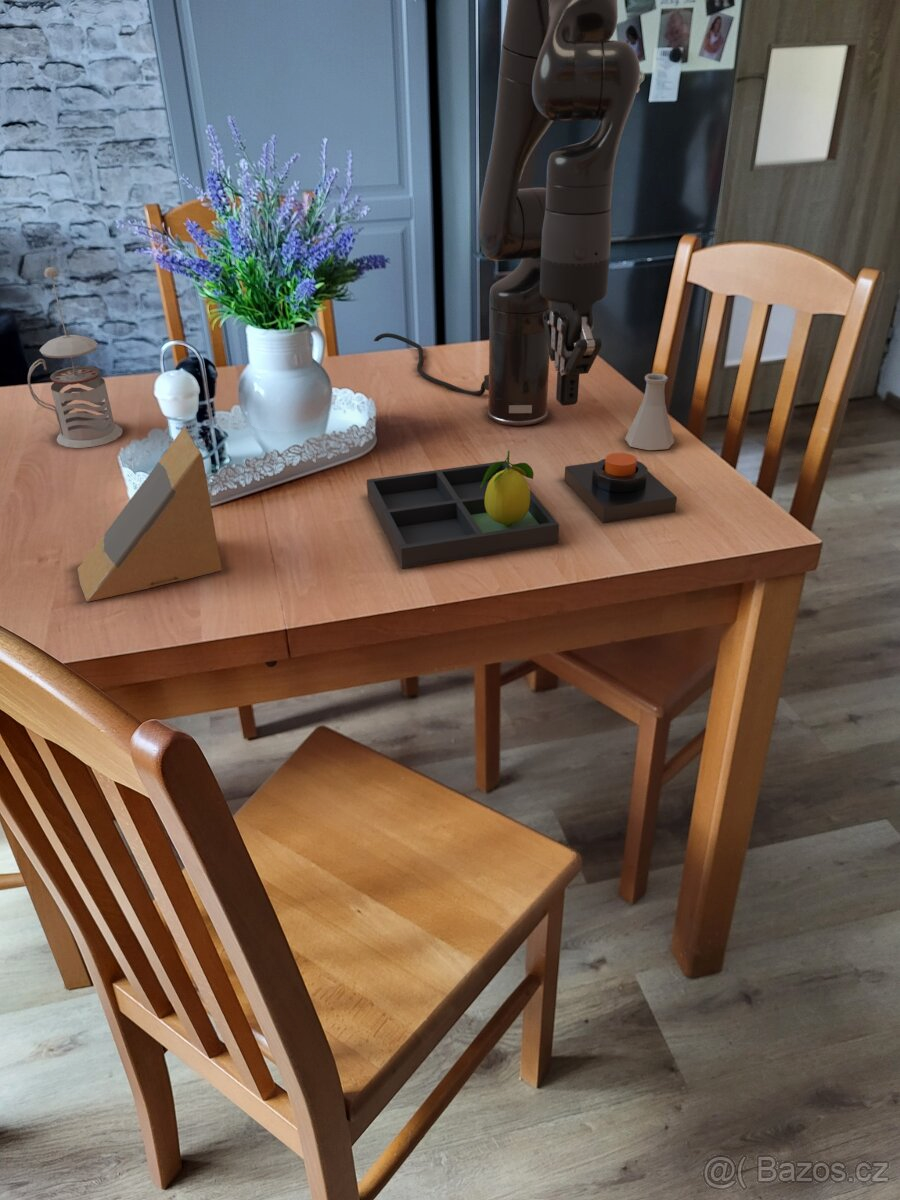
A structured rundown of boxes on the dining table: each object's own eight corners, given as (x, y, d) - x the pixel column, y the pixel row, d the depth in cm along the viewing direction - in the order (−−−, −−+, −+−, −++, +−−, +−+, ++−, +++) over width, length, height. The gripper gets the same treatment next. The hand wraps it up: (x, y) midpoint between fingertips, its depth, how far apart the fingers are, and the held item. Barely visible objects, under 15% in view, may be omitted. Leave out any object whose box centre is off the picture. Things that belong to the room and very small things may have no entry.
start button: (599, 467, 123) (600, 454, 122) (627, 463, 124) (628, 450, 123) (612, 479, 120) (613, 466, 119) (640, 475, 120) (642, 462, 119)
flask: (674, 453, 135) (682, 386, 129) (623, 450, 136) (629, 383, 131) (674, 434, 141) (682, 369, 135) (625, 431, 142) (631, 367, 137)
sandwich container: (75, 568, 110) (44, 449, 102) (205, 539, 115) (185, 424, 107) (85, 603, 103) (52, 479, 95) (222, 571, 109) (202, 451, 101)
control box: (564, 481, 128) (565, 453, 126) (631, 471, 130) (633, 444, 128) (603, 523, 117) (605, 494, 115) (675, 512, 119) (678, 484, 117)
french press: (125, 441, 141) (89, 271, 128) (44, 454, 138) (-3, 280, 124) (120, 419, 149) (84, 256, 136) (42, 430, 146) (-2, 264, 132)
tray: (367, 497, 124) (366, 479, 123) (505, 478, 129) (506, 460, 127) (402, 568, 108) (401, 548, 107) (558, 544, 113) (559, 524, 111)
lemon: (480, 538, 113) (480, 462, 107) (478, 516, 118) (478, 442, 112) (535, 537, 113) (538, 461, 107) (531, 515, 118) (534, 441, 112)
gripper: (632, 263, 98) (617, 419, 107) (584, 237, 109) (575, 381, 118) (564, 269, 96) (556, 427, 106) (523, 241, 107) (519, 387, 117)
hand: (566, 402), depth 112 cm, fingers closed
